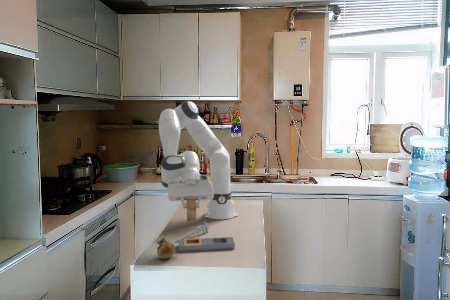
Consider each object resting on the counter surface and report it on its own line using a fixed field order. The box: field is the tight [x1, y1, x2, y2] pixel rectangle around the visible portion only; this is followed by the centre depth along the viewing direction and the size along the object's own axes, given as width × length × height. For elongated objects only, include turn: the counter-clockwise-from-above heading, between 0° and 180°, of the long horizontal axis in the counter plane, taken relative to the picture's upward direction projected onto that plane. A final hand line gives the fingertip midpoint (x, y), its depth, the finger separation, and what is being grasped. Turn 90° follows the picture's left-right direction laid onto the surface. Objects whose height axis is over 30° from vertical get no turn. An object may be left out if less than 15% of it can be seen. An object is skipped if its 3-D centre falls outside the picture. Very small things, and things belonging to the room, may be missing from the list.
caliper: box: [174, 221, 209, 244], centre depth 180 cm, size 20×1×6 cm, turn 137°
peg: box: [185, 197, 197, 223], centre depth 165 cm, size 4×4×10 cm
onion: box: [155, 237, 176, 260], centre depth 154 cm, size 8×8×8 cm
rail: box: [178, 236, 236, 253], centre depth 166 cm, size 9×24×3 cm, turn 95°
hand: (191, 207), depth 164 cm, fingers closed on peg, 4 cm apart
